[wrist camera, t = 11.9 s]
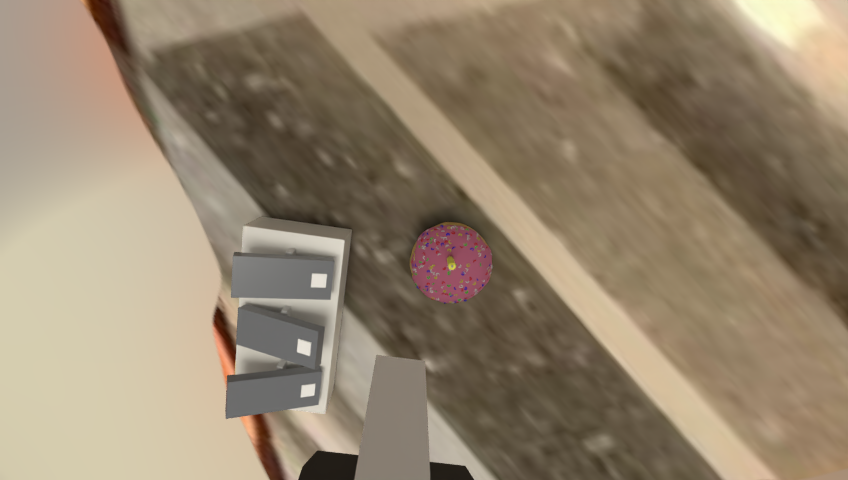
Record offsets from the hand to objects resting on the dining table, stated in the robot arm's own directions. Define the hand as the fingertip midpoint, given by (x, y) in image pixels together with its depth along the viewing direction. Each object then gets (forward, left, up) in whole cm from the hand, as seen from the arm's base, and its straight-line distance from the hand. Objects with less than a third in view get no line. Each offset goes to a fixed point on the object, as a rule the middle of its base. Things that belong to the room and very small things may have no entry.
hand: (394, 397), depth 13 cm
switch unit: (+13, -11, -34) cm, 38 cm away
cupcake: (+4, +5, -35) cm, 35 cm away
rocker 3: (+19, -11, -27) cm, 35 cm away
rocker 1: (+7, -11, -27) cm, 30 cm away
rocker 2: (+13, -11, -27) cm, 32 cm away
